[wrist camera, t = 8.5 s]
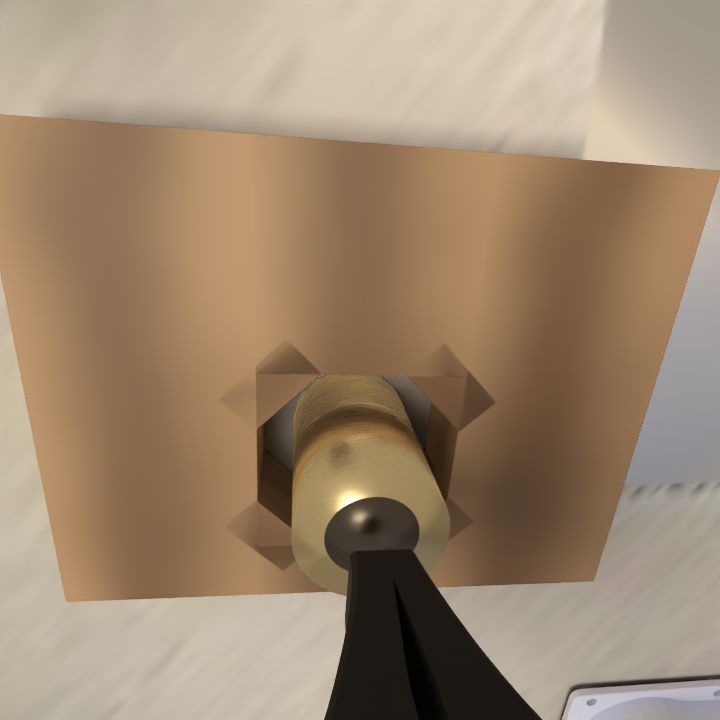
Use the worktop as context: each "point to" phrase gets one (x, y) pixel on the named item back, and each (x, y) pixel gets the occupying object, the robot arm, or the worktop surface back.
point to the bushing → (360, 480)
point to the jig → (328, 338)
